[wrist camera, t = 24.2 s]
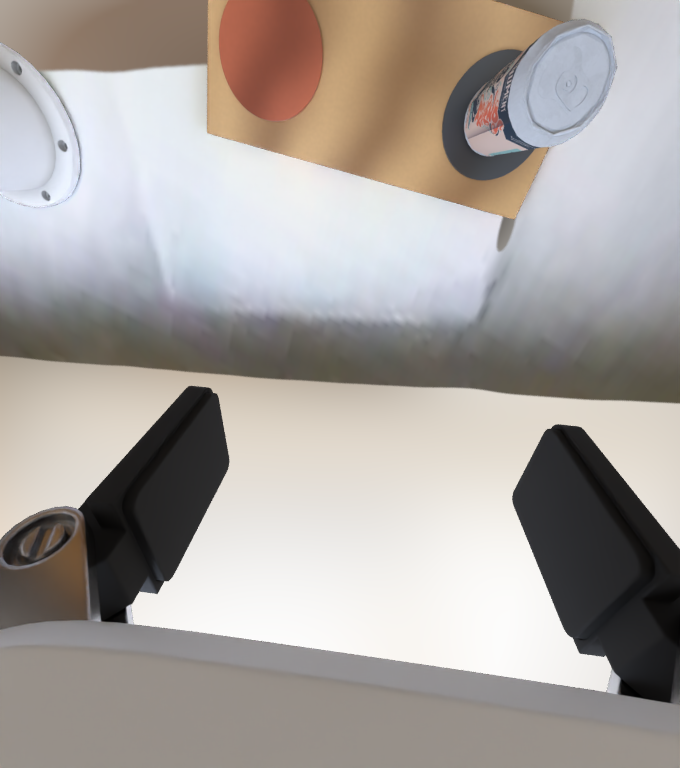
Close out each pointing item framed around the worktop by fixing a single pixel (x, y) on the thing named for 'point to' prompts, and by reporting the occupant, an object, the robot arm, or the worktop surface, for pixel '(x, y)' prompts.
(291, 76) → the board
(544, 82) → the beer can
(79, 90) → the worktop surface
